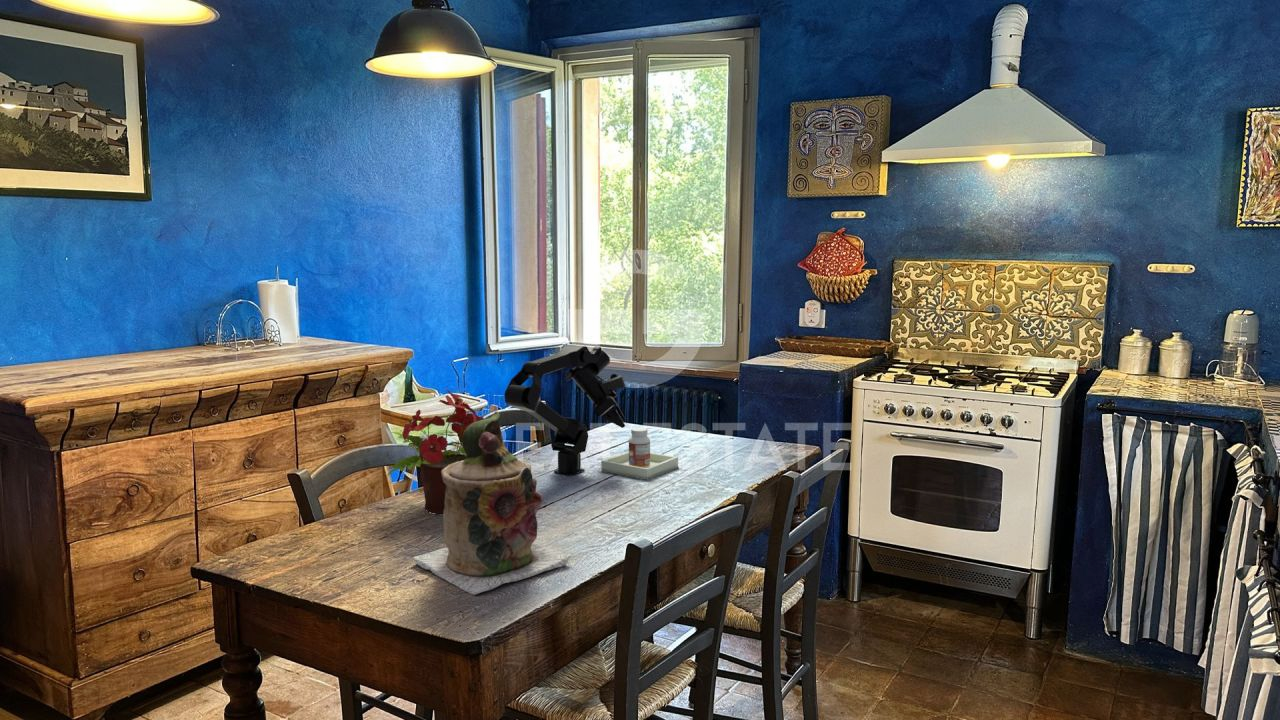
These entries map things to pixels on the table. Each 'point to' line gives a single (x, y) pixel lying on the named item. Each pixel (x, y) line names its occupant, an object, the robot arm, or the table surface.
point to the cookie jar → (489, 517)
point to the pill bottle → (639, 448)
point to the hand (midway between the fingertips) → (624, 423)
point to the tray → (657, 467)
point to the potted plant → (436, 450)
